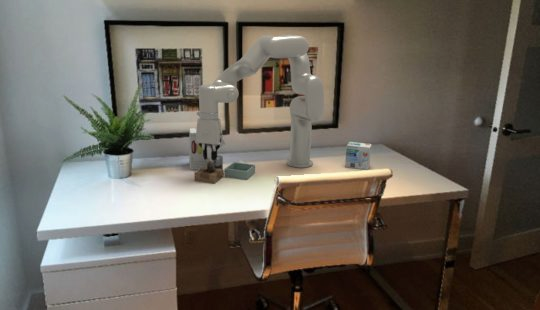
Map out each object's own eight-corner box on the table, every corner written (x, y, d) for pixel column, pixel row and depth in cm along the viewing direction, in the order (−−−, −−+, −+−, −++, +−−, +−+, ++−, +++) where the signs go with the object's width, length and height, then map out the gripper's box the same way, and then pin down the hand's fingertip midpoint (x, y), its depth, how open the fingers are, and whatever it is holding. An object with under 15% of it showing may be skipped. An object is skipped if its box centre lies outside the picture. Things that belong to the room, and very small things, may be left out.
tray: (233, 169, 211) (233, 162, 210) (255, 172, 208) (255, 164, 207) (224, 176, 202) (224, 168, 201) (247, 179, 199) (247, 171, 198)
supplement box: (189, 169, 209) (189, 132, 204) (189, 163, 218) (188, 127, 213) (211, 169, 211) (211, 132, 206) (210, 162, 220) (209, 127, 215)
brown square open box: (204, 174, 204) (204, 166, 203) (223, 176, 201) (223, 169, 200) (194, 180, 196) (194, 172, 195) (214, 183, 193) (214, 175, 192)
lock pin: (208, 167, 200) (207, 138, 196) (216, 168, 199) (215, 138, 195) (204, 170, 197) (203, 140, 193) (212, 171, 196) (211, 141, 192)
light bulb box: (344, 167, 219) (346, 144, 216) (347, 163, 226) (348, 141, 222) (367, 170, 216) (369, 147, 213) (369, 166, 222) (371, 143, 219)
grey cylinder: (212, 169, 211) (212, 152, 208) (224, 171, 209) (224, 154, 207) (206, 173, 205) (206, 156, 203) (219, 175, 203) (219, 157, 201)
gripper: (186, 116, 190) (188, 159, 195) (224, 119, 185) (225, 163, 191) (194, 112, 197) (196, 154, 202) (231, 115, 192) (232, 158, 197)
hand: (210, 158), depth 196 cm, fingers closed on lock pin, 3 cm apart
